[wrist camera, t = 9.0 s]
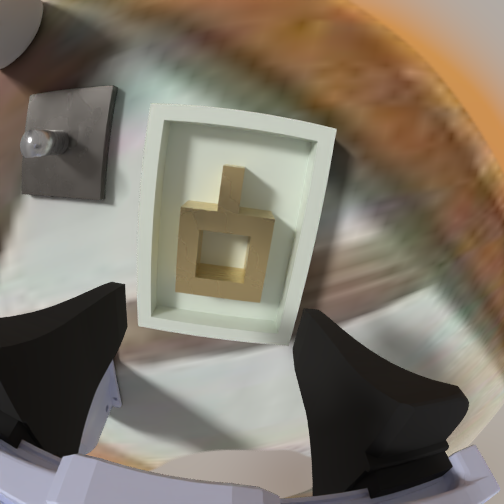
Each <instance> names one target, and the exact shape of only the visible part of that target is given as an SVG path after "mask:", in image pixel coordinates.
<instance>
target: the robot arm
mask: <svg viewBox="0 0 504 504" xmlns="http://www.w3.org/2000/svg"><path fill="white" fill-rule="evenodd" d="M126 329H127V313H126V295H125V284H120V283H115V282H110V283H107V284H104V285H102V286H99V287H97V288H95V289H92V290H90V291H88V292H86V293H84V294H81V295H79V296H77V297H75V298H72V299H70V300H67V301H65V302H62V303H60V304H57V305H54V306H52V307H49V308H46V309H42V310H39V311H35V312H31V313H26V314H21V315H16V316H11V317H3V318H0V504H484V503H485V502H486V501H488V500H489V499H490V498H491V497H493V496H494V495H495V494H497V493H498V492H499V491H500V487H499V485H498V483H497V482H496V480H495V478H494V476H493V474H492V473H491V471H490V469H489V467H488V466H487V464H486V462H485V460H484V458H483V457H482V456H481V454H480V452H479V450H478V448H477V447H476V445H471V446H469V447H467V448H464V449H462V450H460V451H457V452H455V453H453V454H452V455H451V456H449V457H448V456H447V454H446V453H445V451H446V450H447V449H448V448H449V445H448V443H447V441H446V439H447V438H448V437H449V435H450V434H451V433H452V432H453V431H454V430H455V428H456V427H457V426H458V425H459V423H460V422H461V421H462V419H463V418H464V417H465V415H466V413H467V410H468V406H469V401H468V399H467V398H466V396H465V395H464V394H463V392H462V391H461V390H460V388H459V387H458V386H455V385H451V384H447V383H443V382H439V381H435V380H431V379H428V378H426V377H423V376H420V375H417V374H415V373H412V372H410V371H407V370H405V369H403V368H401V367H399V366H397V365H394V364H393V363H391V362H389V361H387V360H385V359H384V358H382V357H380V356H378V355H377V354H375V353H374V352H372V351H371V350H369V349H368V348H366V347H365V346H363V345H362V344H361V343H359V342H358V341H357V340H355V339H354V338H353V337H351V336H350V335H349V334H348V333H346V332H345V331H344V330H343V329H342V328H340V327H339V326H338V325H337V324H336V323H334V322H333V321H332V320H331V319H330V318H329V317H327V316H326V315H325V314H324V313H322V312H321V311H319V310H315V309H304V310H303V314H302V317H301V321H300V325H299V328H298V332H297V335H296V339H295V342H294V346H293V358H294V367H295V372H296V376H297V380H298V384H299V388H300V391H301V395H302V399H303V403H304V407H305V410H306V415H307V420H308V428H309V436H310V446H311V457H312V477H313V496H312V497H300V498H283V499H280V498H279V496H278V495H276V494H274V493H272V492H270V491H267V490H264V489H262V488H260V487H256V486H248V485H240V484H234V483H223V482H211V481H203V480H195V479H187V478H180V477H175V476H169V475H163V474H159V473H154V472H149V471H145V470H141V469H136V468H132V467H129V466H125V465H121V464H118V463H114V462H111V461H108V460H104V459H101V458H97V457H92V456H88V455H86V454H88V453H89V452H91V451H92V450H93V449H94V448H95V447H96V445H97V443H98V441H99V438H100V435H101V433H102V430H103V428H104V425H105V423H106V420H107V418H108V415H109V413H110V411H111V408H112V406H114V407H118V408H119V407H121V405H122V402H121V398H120V393H119V388H118V383H117V378H116V373H115V367H114V362H113V358H114V356H115V354H116V352H117V351H118V349H119V347H120V345H121V342H122V340H123V337H124V335H125V332H126Z"/></svg>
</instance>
